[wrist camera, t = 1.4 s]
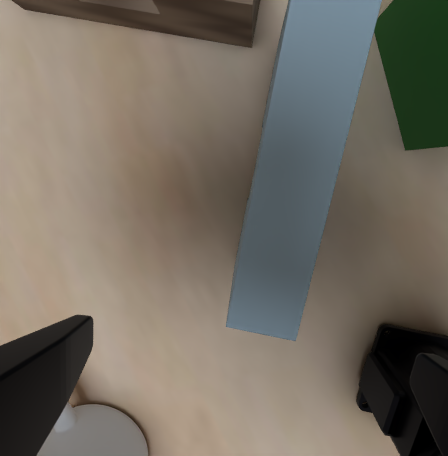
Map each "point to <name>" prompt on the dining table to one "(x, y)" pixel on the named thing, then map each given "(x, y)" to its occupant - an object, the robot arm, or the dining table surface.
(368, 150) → the dining table surface
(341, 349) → the dining table surface
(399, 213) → the dining table surface
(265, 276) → the crosspiece
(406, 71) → the hardback book
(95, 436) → the mug
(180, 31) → the notched rail
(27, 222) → the dining table surface
